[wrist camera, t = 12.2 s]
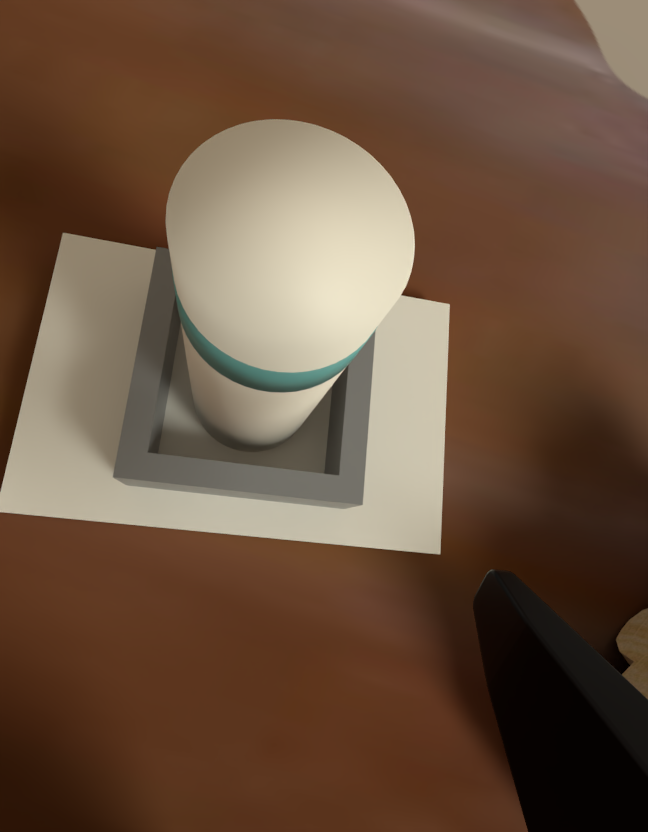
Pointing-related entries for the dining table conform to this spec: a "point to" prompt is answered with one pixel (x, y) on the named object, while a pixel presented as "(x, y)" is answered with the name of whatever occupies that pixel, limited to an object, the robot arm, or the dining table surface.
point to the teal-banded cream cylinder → (280, 271)
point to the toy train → (636, 650)
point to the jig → (194, 447)
